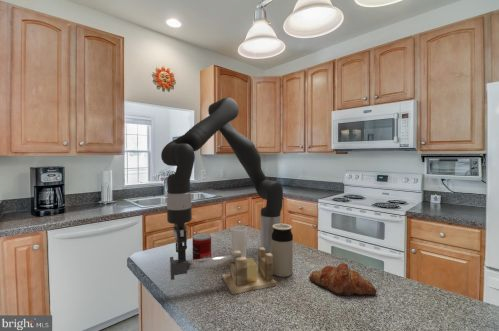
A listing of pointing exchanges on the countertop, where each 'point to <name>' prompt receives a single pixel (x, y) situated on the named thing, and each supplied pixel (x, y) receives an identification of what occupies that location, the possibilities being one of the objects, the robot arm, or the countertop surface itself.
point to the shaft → (199, 264)
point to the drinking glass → (239, 239)
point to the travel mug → (282, 250)
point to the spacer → (251, 270)
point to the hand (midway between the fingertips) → (180, 256)
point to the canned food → (201, 246)
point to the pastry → (342, 281)
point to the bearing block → (238, 273)
